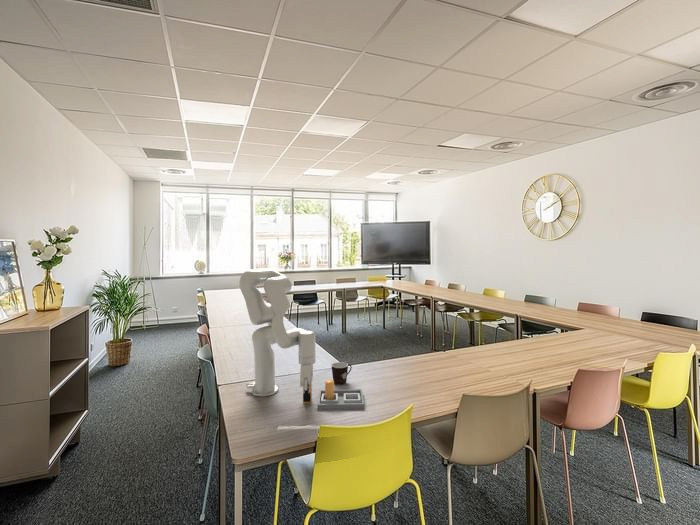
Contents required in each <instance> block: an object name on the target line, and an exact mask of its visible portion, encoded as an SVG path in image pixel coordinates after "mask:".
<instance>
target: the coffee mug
mask: <svg viewBox="0 0 700 525" xmlns="http://www.w3.org/2000/svg"><path fill="white" fill-rule="evenodd" d="M330 366H331V373H332V380H333V381H334V385H337V386H343V385H346V384H347V380H348V375H349V374H350V372H351V371H352V367H353V366H352V365H351V364H348V363H347V362H343V361H342V362H341V361H336V362H333V363H331V365H330ZM349 366H350V368H349ZM348 368H349V369H348ZM348 370H349V371H348Z"/></svg>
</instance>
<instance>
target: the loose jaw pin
mask: <svg viewBox="0 0 700 525" xmlns="http://www.w3.org/2000/svg"><path fill="white" fill-rule="evenodd" d="M303 386H304V384H303ZM308 386H309V385H308ZM308 389H309V388H308ZM312 389H313V384H311V386H310V392H311V401H310V402H303V401H302V403H303V404H306V405H307V404H308V405H309V404H311V403H313V390H312Z"/></svg>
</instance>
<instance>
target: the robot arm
mask: <svg viewBox="0 0 700 525" xmlns="http://www.w3.org/2000/svg"><path fill="white" fill-rule="evenodd" d="M258 287H263V290H264V293H265V295H266V298H267V300H268V303H265V300H264V297H263V294H262V292H260V290H259V289H258ZM239 289H240V291H241V294H242V296H243V299H244V301H245V305H246V309H247V312H248V316H249V319H250V322H251V324H252V325H254V326H260V325H265V324H267V325H265V326H261V327H259V328H257V329H255V330H254V331H253V333H252V335H251V341H252V345H253V356H254V358H253V360H254V381H252V382H246V384H245V387H246V388H247V389H251V394H252V395H253V396H255V397H264V398H265V397H269V396H270V397H271V396H273V395H275V394H276V393H278V391H279V387H278V386H277V385H276V371H275V370H276V366H275V365H276V364H275V362H276V361H275V360H276V359H275V352H274V350H273V348H272V346H273V345H276V344H277V345H278V347H280V349H283V350H286V349H290V348H292V347H295V346H297V347H298V348H297V349H298V364H299V365H300V371H299V373H300V375H299V380H300V381H299V387H301V388H302V403H303V402H310V401H311V392H310V386H311V384H312V383H313V376H314V375H313V374H314V364H315V363H316V360H317V359H316V333H315V332H314V331H312V330H306V329H304V328H301V327H295V328H292V329H288V330H286V328H285V324H284V317H285V315H286V313H287V311H289V309H291V303H290V301H289V298H288V296H287V293H289V292H291V290H292V282H291V280H290V279H289V277H287V276H286V275H284V274H283V273H280V272H278V271H276V270H274V269H272V268H253V269H248V270H246V271H244V272H243V273H242V274H241V275H240V277H239ZM303 384H304V386H303ZM308 385H309V386H308ZM312 385H313V384H312ZM308 388H309V389H308Z"/></svg>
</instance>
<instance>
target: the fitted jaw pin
mask: <svg viewBox="0 0 700 525" xmlns="http://www.w3.org/2000/svg"><path fill="white" fill-rule="evenodd" d="M324 390H325V400H334V390H335V384H334V381H333V379H327V380H325V382H324Z"/></svg>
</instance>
